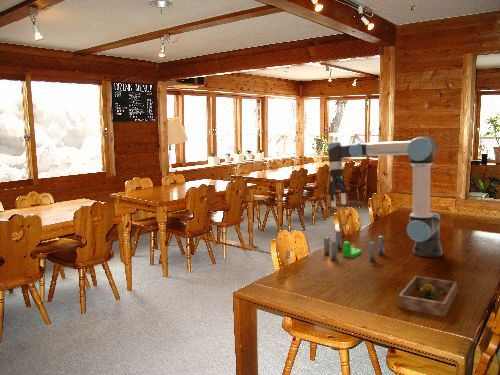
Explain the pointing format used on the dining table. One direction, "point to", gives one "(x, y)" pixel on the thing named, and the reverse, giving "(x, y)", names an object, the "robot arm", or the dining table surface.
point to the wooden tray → (424, 304)
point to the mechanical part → (350, 250)
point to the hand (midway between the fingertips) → (338, 205)
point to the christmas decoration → (428, 292)
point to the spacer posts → (337, 244)
